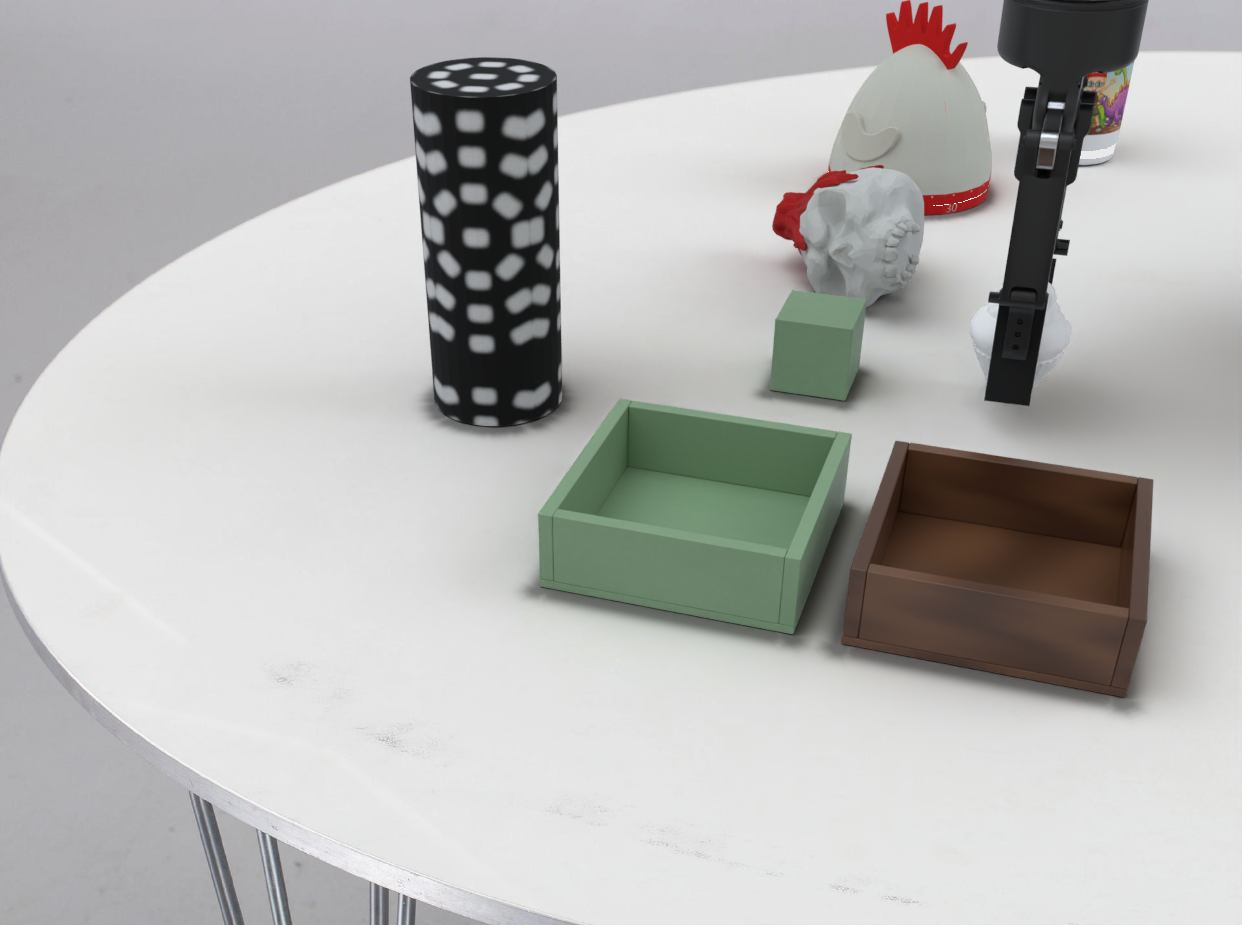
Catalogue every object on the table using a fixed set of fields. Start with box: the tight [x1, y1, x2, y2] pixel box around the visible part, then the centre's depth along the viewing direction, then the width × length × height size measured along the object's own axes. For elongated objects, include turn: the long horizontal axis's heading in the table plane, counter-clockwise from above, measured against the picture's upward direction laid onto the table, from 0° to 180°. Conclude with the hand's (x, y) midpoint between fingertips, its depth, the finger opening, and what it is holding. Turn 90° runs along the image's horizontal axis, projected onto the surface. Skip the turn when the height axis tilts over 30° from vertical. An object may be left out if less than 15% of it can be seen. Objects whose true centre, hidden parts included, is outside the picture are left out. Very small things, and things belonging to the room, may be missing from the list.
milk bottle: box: [1079, 59, 1136, 166], centre depth 127 cm, size 8×8×20 cm
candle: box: [771, 165, 925, 308], centre depth 106 cm, size 9×11×15 cm
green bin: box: [537, 398, 853, 635], centre depth 78 cm, size 14×14×4 cm
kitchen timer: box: [827, 0, 993, 216], centre depth 121 cm, size 14×14×15 cm
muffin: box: [969, 282, 1073, 390], centre depth 89 cm, size 6×6×7 cm
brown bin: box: [840, 440, 1154, 698], centre depth 73 cm, size 14×14×4 cm
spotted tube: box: [409, 56, 563, 427], centre depth 87 cm, size 8×8×20 cm
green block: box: [769, 289, 867, 402], centre depth 94 cm, size 5×5×5 cm
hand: (1012, 376), depth 91 cm, fingers closed on muffin, 6 cm apart
